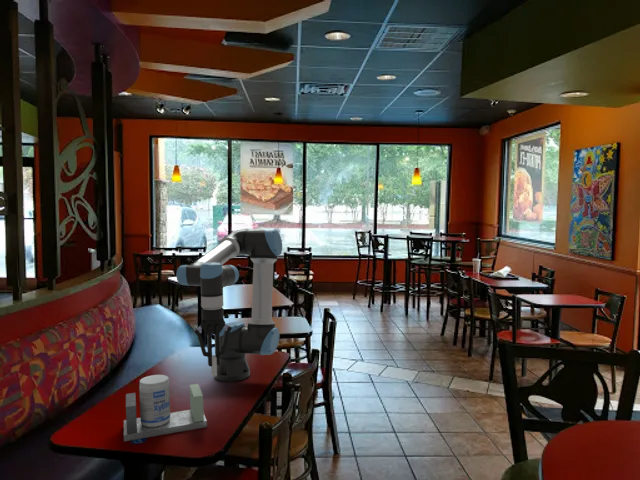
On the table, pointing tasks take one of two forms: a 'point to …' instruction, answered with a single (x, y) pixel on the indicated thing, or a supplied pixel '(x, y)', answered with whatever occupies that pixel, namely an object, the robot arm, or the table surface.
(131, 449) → the table surface
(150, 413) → the supplement tub
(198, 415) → the block
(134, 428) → the vise
